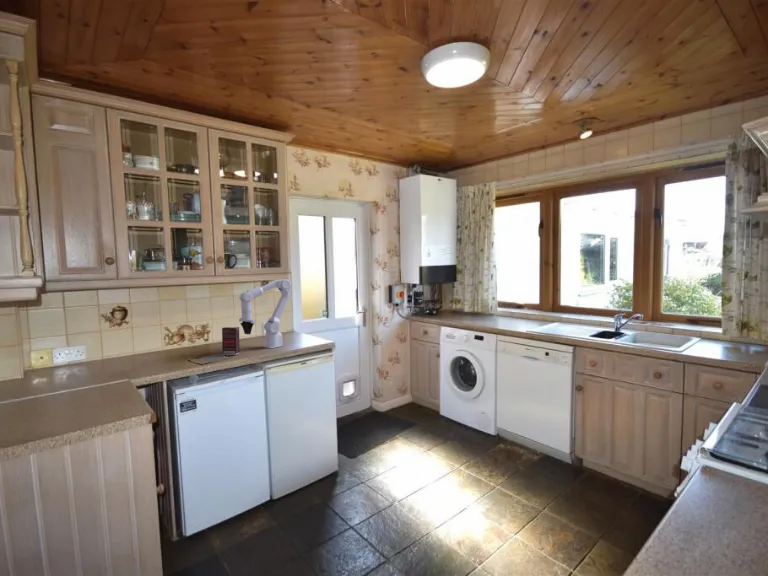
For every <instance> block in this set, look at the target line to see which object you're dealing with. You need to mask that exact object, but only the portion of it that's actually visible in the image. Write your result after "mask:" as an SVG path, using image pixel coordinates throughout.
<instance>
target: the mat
mask: <svg viewBox="0 0 768 576" xmlns="http://www.w3.org/2000/svg"><path fill="white" fill-rule="evenodd" d="M224 356H225V355H223V353H215V354H210V355H206V356H201V357H202V359H203V360H205V361H208V362H213V363H215V362H214V361H217V362H219V361H218V360H219V359H220V360H221V361H223V360H222V358H223V359H226V360H229V359H228V358H226V357H225V358H224ZM232 357H233V356H230V357H229V358H230V359H233V358H232Z"/></svg>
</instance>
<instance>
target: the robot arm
mask: <svg viewBox="0 0 768 576" xmlns="http://www.w3.org/2000/svg"><path fill="white" fill-rule="evenodd" d="M273 288H276V289H278V290H279V292H280V298H279V300H278V302H277V304H276V306H275V308H274V310H273V312H272V315H271V316H270V318H268V320H267V321H266V322H265V323H264V325H263V326H264V327H263V329H264V330H265V338H266V339H265V340H266V342H265V343H266V344H265V345H263V348H266V349H274V348H280V347H283V346H284V345H283V335H282V332H280V331H279V330H280V325H281V318H282V316H283V313H284V311H285V309H286V307H287V305H288V302H289V300H290V298H291V296H292V283H291V281H290V280H289V279H287V278H284V279H282V278H277V279H276V280H275V279H274V280H273V281H271V282H269V283H267V284H265V285H262V286H254V287H253V288H252V289H247V290H246V291H243V292H241V293H240V295H239V300H240V302H241V304H240V307H241V308H240V309H241V317H239V319H238V321H239V322H240V326H241V328H242V330H243V333H244V335H247V336H248V335H251V334H252V330H253V329H252V328H253V326H254V325H255V324H256V319H254V318H253V315H252V313H253V312H252V300H254V299H255V298H258V297H260V296H262V295H263V294H264V292H266V291H269V290H271V289H273Z"/></svg>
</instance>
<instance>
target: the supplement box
mask: <svg viewBox="0 0 768 576" xmlns="http://www.w3.org/2000/svg"><path fill="white" fill-rule="evenodd" d="M221 340H222V341H221V343H222V346H221V347H222V349H221V350H222V351H221V352H222V353H221V354H222V355H226V356H237V355H240V354H239V353H240V350H241V349H240V348H241V347H240V326H239V327H238V326H236V327H235V326H233V327H232V326H230V327H229V326H227V327H221Z"/></svg>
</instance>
